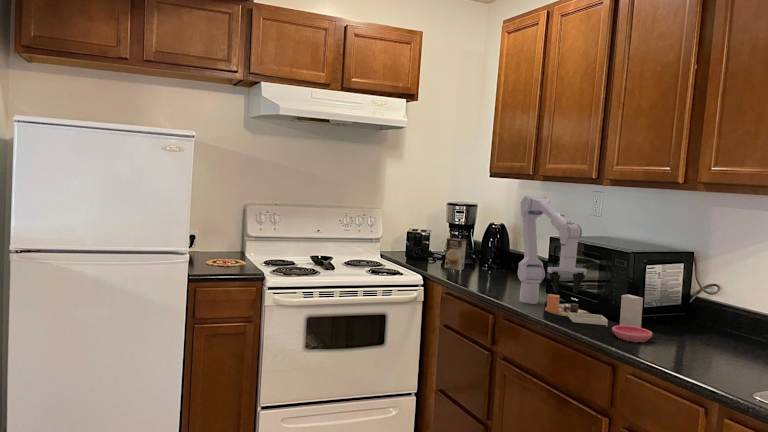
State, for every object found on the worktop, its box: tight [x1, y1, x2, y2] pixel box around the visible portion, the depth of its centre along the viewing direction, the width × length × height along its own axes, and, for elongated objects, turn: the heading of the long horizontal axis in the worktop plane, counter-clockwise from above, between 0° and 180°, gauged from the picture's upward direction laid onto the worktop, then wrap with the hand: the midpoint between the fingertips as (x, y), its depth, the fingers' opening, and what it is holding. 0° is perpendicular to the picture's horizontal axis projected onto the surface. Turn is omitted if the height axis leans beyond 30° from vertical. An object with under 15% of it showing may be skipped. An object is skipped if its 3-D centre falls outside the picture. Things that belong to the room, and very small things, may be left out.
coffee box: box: [444, 237, 467, 271], centre depth 318 cm, size 9×6×16 cm
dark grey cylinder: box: [559, 303, 579, 313], centre depth 228 cm, size 14×3×4 cm, turn 4°
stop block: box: [545, 293, 561, 313], centre depth 227 cm, size 4×4×6 cm
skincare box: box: [619, 294, 644, 328], centre depth 209 cm, size 6×4×12 cm
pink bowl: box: [611, 324, 653, 343], centre depth 197 cm, size 12×12×3 cm
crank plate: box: [544, 306, 591, 317], centre depth 228 cm, size 17×17×2 cm
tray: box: [567, 312, 609, 328], centre depth 215 cm, size 8×12×2 cm, turn 84°
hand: (565, 292), depth 220 cm, fingers open, 7 cm apart
